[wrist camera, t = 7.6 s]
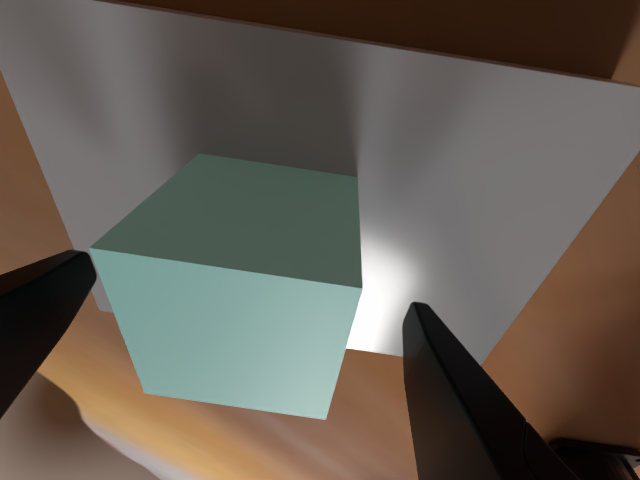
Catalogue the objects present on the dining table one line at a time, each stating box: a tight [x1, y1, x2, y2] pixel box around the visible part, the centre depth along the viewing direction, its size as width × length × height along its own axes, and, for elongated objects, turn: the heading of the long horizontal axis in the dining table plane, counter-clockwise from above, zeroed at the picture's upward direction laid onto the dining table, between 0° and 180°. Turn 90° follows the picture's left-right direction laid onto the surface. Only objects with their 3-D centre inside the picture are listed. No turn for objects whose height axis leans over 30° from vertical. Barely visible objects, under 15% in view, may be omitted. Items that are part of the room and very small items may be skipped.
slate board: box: [0, 0, 640, 365], centre depth 12 cm, size 18×12×2 cm, turn 83°
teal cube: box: [89, 153, 363, 420], centre depth 9 cm, size 5×5×5 cm
